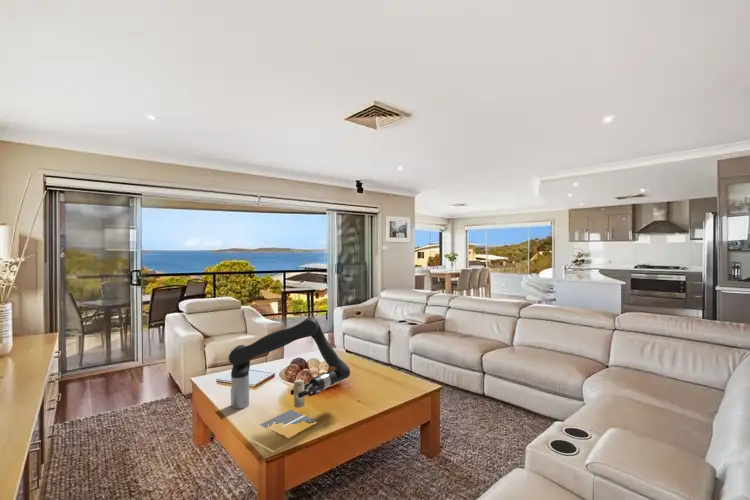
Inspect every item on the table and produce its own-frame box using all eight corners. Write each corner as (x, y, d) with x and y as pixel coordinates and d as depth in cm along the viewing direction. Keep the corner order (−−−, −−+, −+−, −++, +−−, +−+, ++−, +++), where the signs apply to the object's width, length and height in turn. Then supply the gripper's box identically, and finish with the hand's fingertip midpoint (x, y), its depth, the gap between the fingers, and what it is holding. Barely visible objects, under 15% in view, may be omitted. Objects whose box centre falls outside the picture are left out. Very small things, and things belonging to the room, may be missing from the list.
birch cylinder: (292, 405, 183) (291, 381, 183) (299, 402, 187) (299, 378, 187) (298, 408, 180) (298, 384, 180) (306, 404, 184) (306, 380, 184)
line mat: (259, 425, 187) (259, 424, 187) (290, 410, 203) (290, 409, 203) (288, 440, 174) (288, 438, 174) (319, 422, 190) (319, 421, 190)
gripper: (310, 372, 199) (285, 383, 185) (329, 379, 190) (304, 390, 177) (310, 386, 199) (285, 398, 186) (330, 393, 191) (305, 406, 177)
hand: (295, 394), depth 181 cm, fingers closed on birch cylinder, 5 cm apart
